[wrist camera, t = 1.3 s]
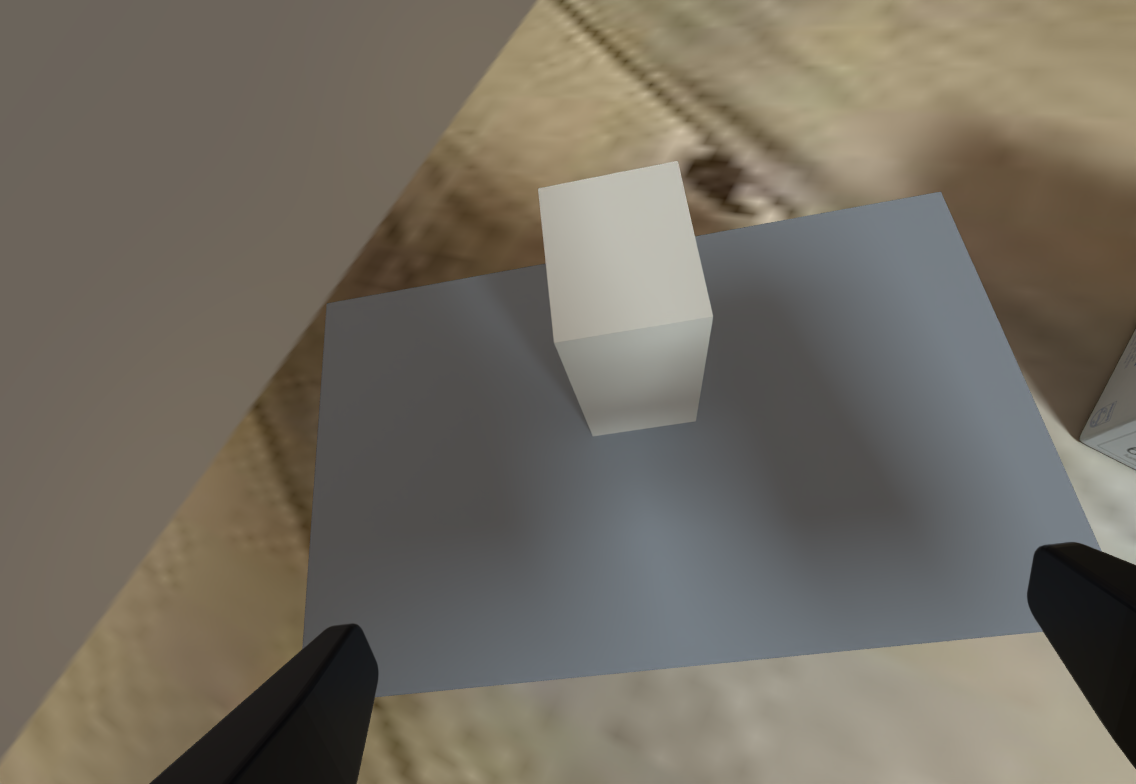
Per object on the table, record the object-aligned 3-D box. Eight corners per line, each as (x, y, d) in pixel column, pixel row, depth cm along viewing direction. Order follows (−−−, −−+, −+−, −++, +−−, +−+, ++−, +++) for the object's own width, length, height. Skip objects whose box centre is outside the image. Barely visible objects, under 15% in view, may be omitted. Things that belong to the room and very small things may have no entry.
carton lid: (1101, 621, 11) (1516, 633, 6) (319, 698, 13) (72, 763, 7) (927, 212, 15) (1076, -14, 9) (341, 317, 17) (187, 177, 11)
